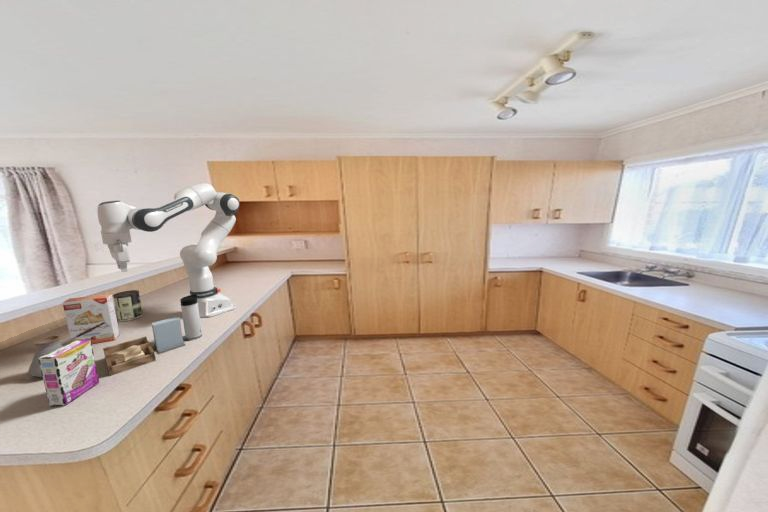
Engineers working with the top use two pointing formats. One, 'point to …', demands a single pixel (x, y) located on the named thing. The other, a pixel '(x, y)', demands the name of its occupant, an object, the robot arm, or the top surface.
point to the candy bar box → (69, 372)
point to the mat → (170, 347)
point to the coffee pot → (50, 349)
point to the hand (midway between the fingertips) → (122, 270)
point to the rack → (114, 369)
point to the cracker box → (91, 318)
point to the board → (167, 332)
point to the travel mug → (191, 317)
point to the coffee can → (128, 305)
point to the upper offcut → (129, 353)
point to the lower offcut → (131, 358)
